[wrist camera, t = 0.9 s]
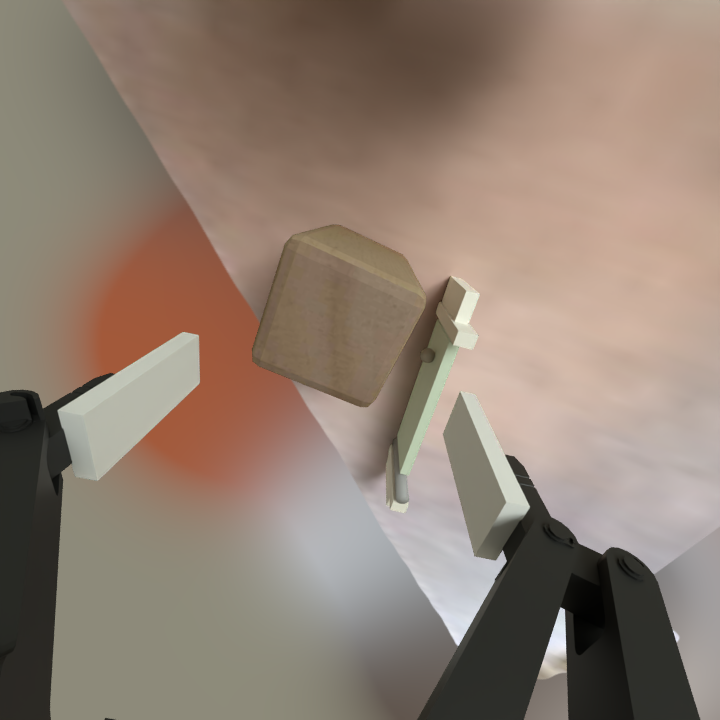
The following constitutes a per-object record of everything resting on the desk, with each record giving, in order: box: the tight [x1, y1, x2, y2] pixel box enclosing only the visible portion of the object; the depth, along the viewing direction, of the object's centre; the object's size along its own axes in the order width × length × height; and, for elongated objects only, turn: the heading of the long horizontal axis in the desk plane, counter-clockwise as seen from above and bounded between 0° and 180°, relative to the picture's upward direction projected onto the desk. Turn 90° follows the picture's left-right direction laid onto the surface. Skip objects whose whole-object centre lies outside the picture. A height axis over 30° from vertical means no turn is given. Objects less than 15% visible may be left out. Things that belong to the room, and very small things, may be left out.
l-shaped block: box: [386, 276, 480, 513], centre depth 40 cm, size 31×2×11 cm, turn 167°
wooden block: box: [252, 225, 426, 407], centre depth 31 cm, size 10×10×20 cm
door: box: [397, 319, 459, 475], centre depth 41 cm, size 19×3×8 cm, turn 167°
